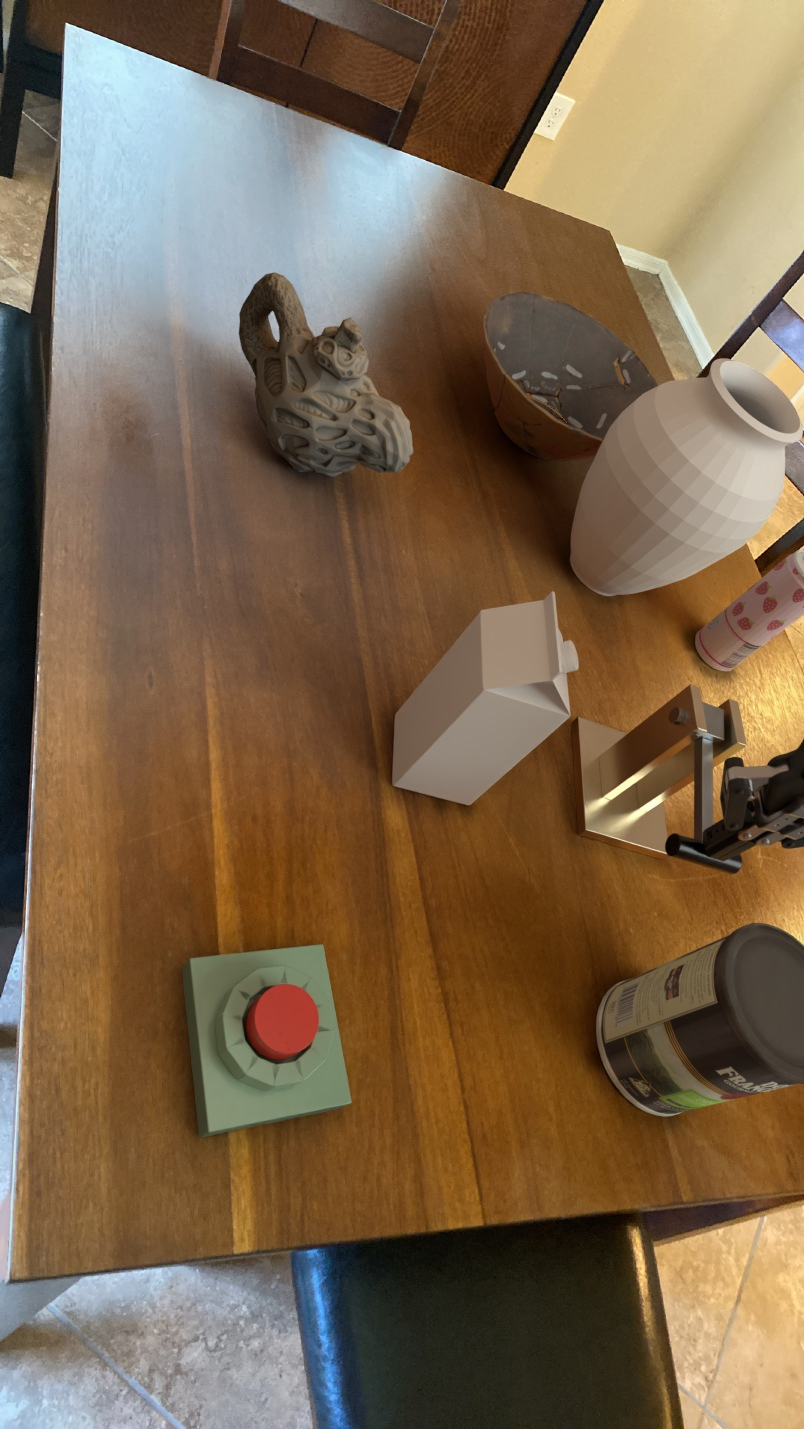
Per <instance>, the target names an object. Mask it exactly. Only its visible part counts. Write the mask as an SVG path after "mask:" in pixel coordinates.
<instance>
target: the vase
mask: <svg viewBox="0 0 804 1429" xmlns="http://www.w3.org/2000/svg"><path fill="white" fill-rule="evenodd" d="M708 373H709V374H708V375H707V376H706V377H695V378H694V377H693V378H685V379H675V380H668V381H666V382H663V383H661V384H659V385H658V386H657V387H655V388H653V389H651V390H649V391H647V392H645V393H644V394H642V395H641V396H640V397H639V398H637V399H636V400H635V401H634V402H633V403H632V404H631V405H629V406H628V407H627V408H626V409H625V410H624V411H623V412H622V413H621V414H620V415H619V416H618V418H617V419H616V420H615V421H614V423H613V424H612V425H611V426H610V428H609V430H608V432H607V434H606V436H605V438H604V440H603V442H602V444H601V446H600V448H599V450H598V452H597V454H596V456H595V457H593V458H594V459H593V461H592V462H591V464H590V466H589V469H588V471H587V473H586V474H585V477H584V479H583V482H582V484H581V489H580V492H579V495H578V498H577V503H576V506H575V507H576V508H575V511H574V517H573V521H572V526H571V532H570V556H569V562H570V566H571V569H572V570H573V573H574V575H575V576H576V577H577V579H578V580H579V581H580V583H582V584H583V585H584V586H585V587H586V588H588V589H590V590H591V591H592V592H594V593H596V594H599V595H601V596H605V597H614V596H617V595H619V596H622V595H623V596H624V595H633V594H638V593H639V594H640V593H642V592H646V591H647V592H648V591H650V590H653V589H658V588H661V587H664V586H667V585H670V584H673V583H676V582H679V581H682V580H685V579H687V578H689V577H692V576H693V575H695V574H697V573H699V572H701V571H702V570H704V569H706V568H708V567H709V566H711V565H713V564H715V563H717V562H719V561H721V560H722V559H724V558H726V557H727V556H729V555H731V554H733V553H734V552H736V551H737V550H739V549H740V548H742V547H744V546H745V545H746V544H747V543H748V542H749V541H751V540H752V538H754V537H755V536H756V535H757V534H758V533H759V532H760V530H761V529H762V528H763V527H764V525H765V524H766V523H767V521H768V520H769V519H770V517H771V516H772V515H773V513H774V511H775V510H776V507H777V505H778V503H779V500H780V498H781V495H782V493H783V492H784V488H785V487H784V486H785V481H786V480H785V479H786V447H787V446H788V445H789V446H790V445H792V444H795V443H797V442H799V441H800V440H801V439H802V438H803V435H804V427H803V424H802V420H801V418H800V416H799V414H798V411H797V409H796V408H795V405H794V404H793V403H792V401H791V400H790V399H789V397H788V396H787V395H786V394H785V393H784V392H783V390H782V389H781V388H780V387H779V386H778V385H777V384H776V383H775V382H774V381H772V379H770V378H769V377H767V376H766V375H765V374H763V373H762V372H761V371H759V370H758V369H755V368H754V367H752V366H750V365H748V364H746V363H743V362H741V361H738V360H735V359H730V358H718V359H715V360H714V361H712V363H711V365H710V368H709V372H708Z"/></svg>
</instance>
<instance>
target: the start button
mask: <svg viewBox="0 0 804 1429" xmlns="http://www.w3.org/2000/svg"><path fill="white" fill-rule="evenodd" d="M318 1025H319V1015H318V1010H317V1007H316V1004H315V1002H314V1001H313V999H312V997H311V996H310V995H309V994H308V993H307V992H306V991H304V990H303V989H302V988H300V987H298V986H295V985H291V984H280V985H276V986H273V987H272V988H270V989H268V990H267V991H266V992H265V993H263V994H262V995H261V996H260V997H259V998H258V999H257V1000H255V1002H254V1003H253V1004H252V1006H251V1007H250V1009H249V1011H248V1015H247V1019H246V1030H247V1035H248V1038H249V1040H250V1042H251V1044H252V1045H253V1047H254V1048H255V1049H256V1050H257V1051H258V1052H259V1053H260V1054H262V1055H263V1056H265V1057H267V1058H270V1059H275V1060H281V1059H287V1058H289V1057H292V1056H293V1055H295V1054H297V1053H298V1052H300V1051H301V1050H303V1049H305V1048H306V1047H307V1046H308V1045H309V1044H310V1043H311V1042H312V1041H313V1039H314V1037H315V1035H316V1033H317V1030H318Z"/></svg>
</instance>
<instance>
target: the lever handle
mask: <svg viewBox="0 0 804 1429" xmlns="http://www.w3.org/2000/svg"><path fill="white" fill-rule="evenodd" d="M702 703H703V709H704V715H705V721H706V727H707V732H706V733H704V734H703V735H702V736H700V737H699V738H697V739H696V740H695V741H693V742H692V743H690V744H692V745H694V781H693V838H692V837H689V836H686V835H683V834H680V833H676V832H674V833H671V834H669V835H668V836H667V837H668V838H667V840H666V843H665V851H666V853H667V854H668V857H671V858H675V859H678V860H682V861H685V862H688V863H692V864H695V865H698V866H702V867H704V868H708V869H712V870H715V871H718V872H721V873H725V874H729V875H736V874H737V873H738V872H740V870H741V868H742V866H743V858H742V855H741V854H739V855H737V856H733V857H732V858H730V859H728V860H726V861H720V860H717V859H714V858H710V857H707V856H706V855H705V851H704V844H703V832H704V830H705V829H707V828H708V827H711V826H712V825H713V824H714V768H713V745H714V744H716V743H718V742H721V741H723V740H724V710H723V709H721V708H718V706H715V705H712V704H710V703H707V702H705V701H702Z"/></svg>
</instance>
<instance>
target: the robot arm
mask: <svg viewBox="0 0 804 1429" xmlns="http://www.w3.org/2000/svg"><path fill="white" fill-rule="evenodd" d="M720 784H721V785H720V792H719V793H720V794H719V801H720V807H721V813H722V819H720V820H719V821H717V822H715V823H713V825H712V826H711V827H708V828H707V829H705V830H704V832H703V844H704V851H705V855H706V856H707V857H710V858H714V859H717V860H720V861H726V860H728V859H730V858H732V857H733V856H737V855H739V854H740V855H741V854H743V853H744V852H746V851H748V850H750V849H752V848H754V847H756V846H759V847H768V846H772V845H774V844H776V843H779V842H780V844H781V848H783V849H786V850H792V849H799V848H804V738H803V739H802V740H801V742H800V744H799V745H798V747H797V748H795V749H794V750H791V751H788V752H786V753H782V754H777V755H775V756H774V757H772V758H770V760H768V762H767V764H766V765H753V766H752V765H751V766H745V763H744V759H743V758H742V757H739V756H731V757H729V758H728V759H726V760H725V761H723V768H722V776H721V783H720Z"/></svg>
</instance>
